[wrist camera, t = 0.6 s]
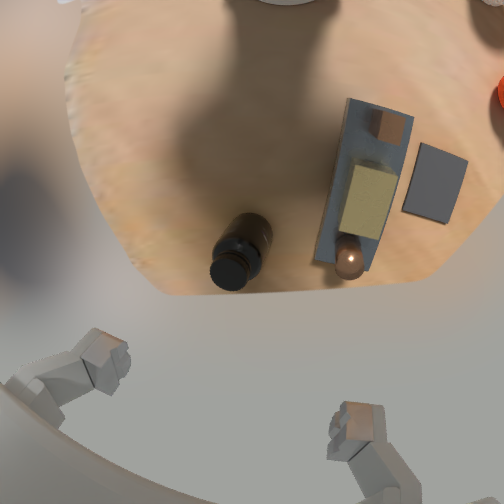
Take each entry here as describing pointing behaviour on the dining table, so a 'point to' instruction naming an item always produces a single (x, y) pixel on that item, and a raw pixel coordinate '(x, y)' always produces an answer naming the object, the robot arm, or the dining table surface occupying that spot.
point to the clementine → (501, 91)
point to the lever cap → (366, 198)
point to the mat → (435, 183)
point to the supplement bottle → (240, 251)
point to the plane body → (350, 145)
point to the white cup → (494, 2)
